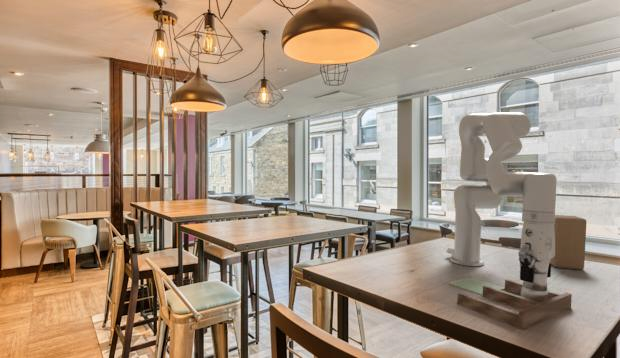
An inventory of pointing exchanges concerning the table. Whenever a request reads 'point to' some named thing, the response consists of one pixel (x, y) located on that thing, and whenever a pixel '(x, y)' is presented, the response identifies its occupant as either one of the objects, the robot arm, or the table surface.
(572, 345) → the table surface
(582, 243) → the block
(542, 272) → the plastic bottle
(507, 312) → the bottle rack
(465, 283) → the mat
